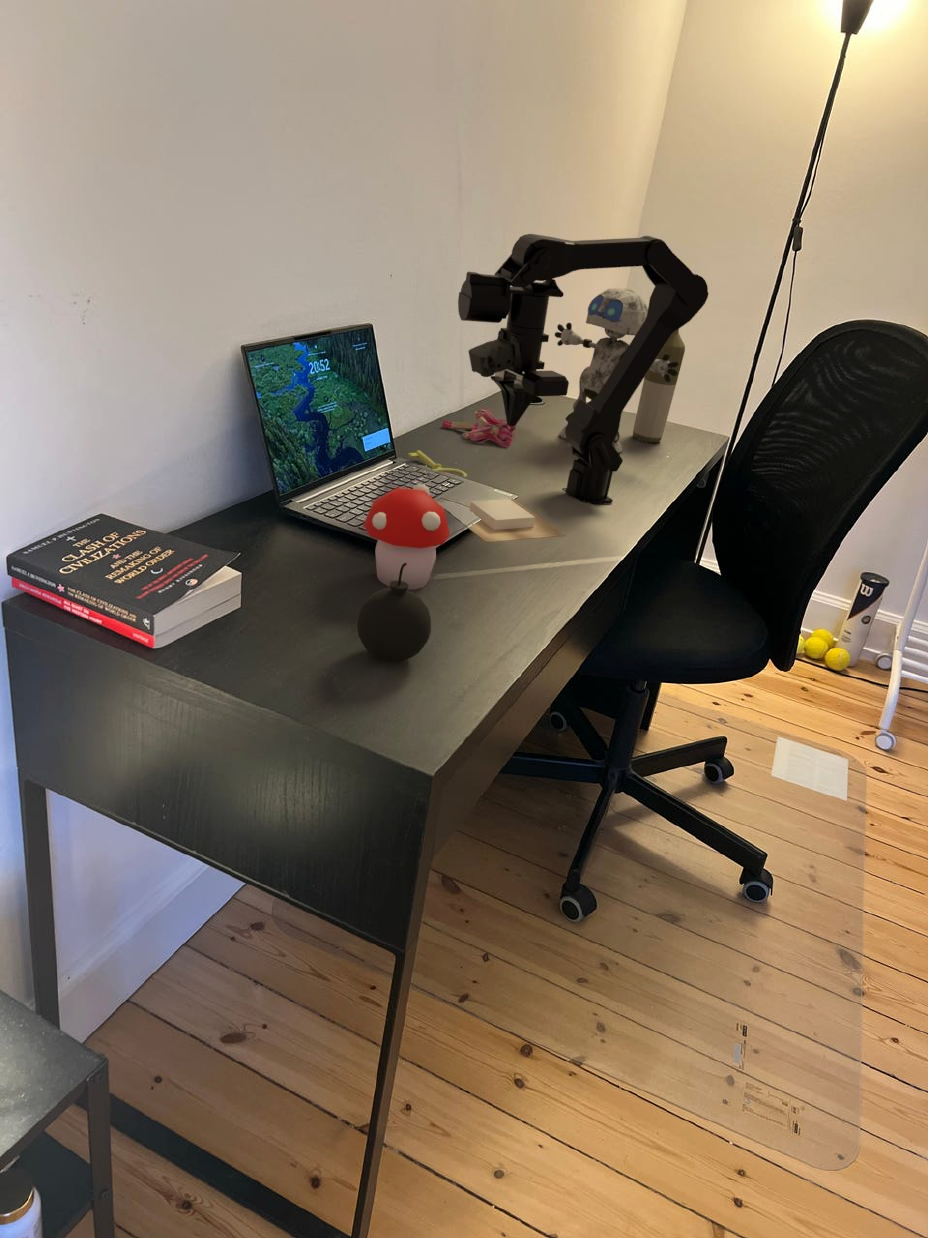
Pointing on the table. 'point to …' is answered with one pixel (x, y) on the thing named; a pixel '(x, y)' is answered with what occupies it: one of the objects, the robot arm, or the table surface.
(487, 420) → the toy
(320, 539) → the table surface
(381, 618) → the bomb
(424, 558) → the mushroom
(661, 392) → the bottle
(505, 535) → the mat
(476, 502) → the tile
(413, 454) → the key
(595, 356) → the toy robot
